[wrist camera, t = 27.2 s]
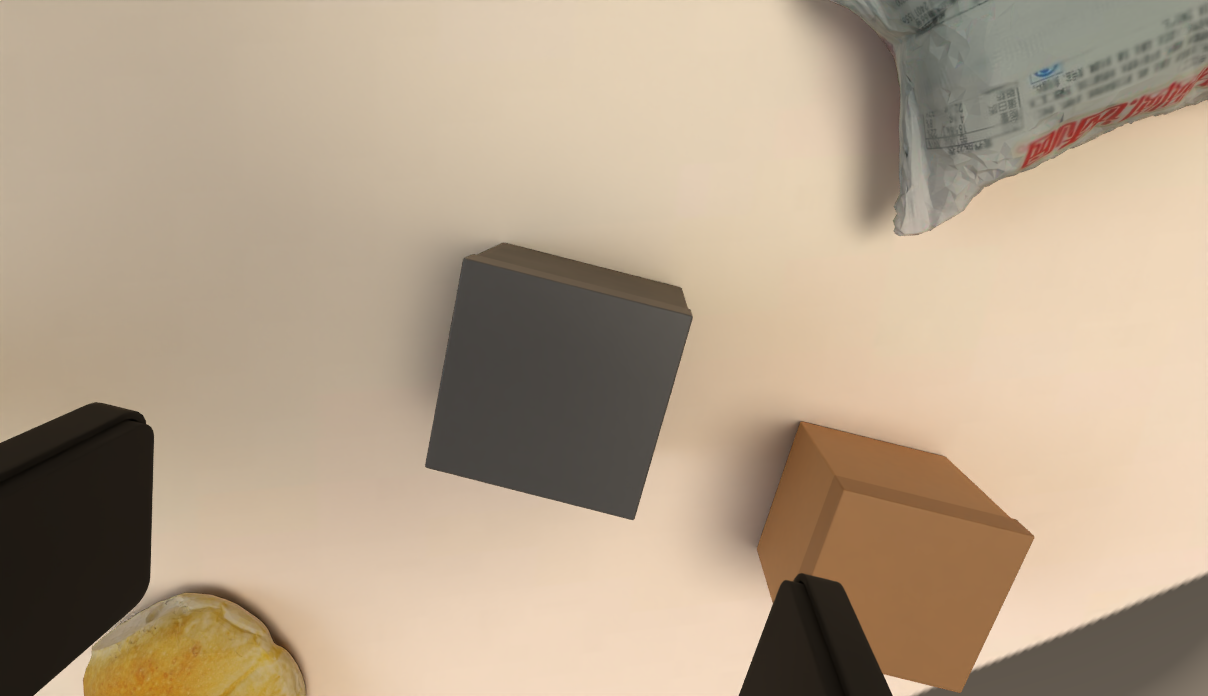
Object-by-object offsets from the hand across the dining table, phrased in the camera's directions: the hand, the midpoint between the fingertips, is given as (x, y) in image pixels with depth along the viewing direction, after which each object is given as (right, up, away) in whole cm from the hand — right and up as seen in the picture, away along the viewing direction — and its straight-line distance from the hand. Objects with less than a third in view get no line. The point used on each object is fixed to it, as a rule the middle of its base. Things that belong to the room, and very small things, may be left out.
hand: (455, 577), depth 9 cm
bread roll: (-15, -11, +20) cm, 27 cm away
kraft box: (+11, -3, +15) cm, 19 cm away
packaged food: (+16, +13, +11) cm, 23 cm away
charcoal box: (+1, +3, +14) cm, 15 cm away
